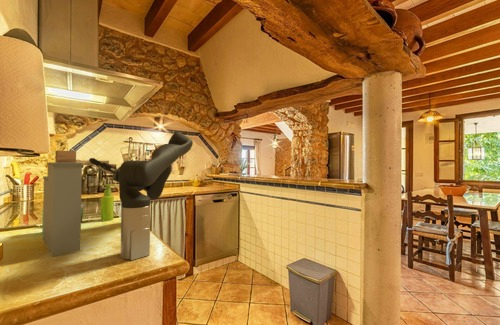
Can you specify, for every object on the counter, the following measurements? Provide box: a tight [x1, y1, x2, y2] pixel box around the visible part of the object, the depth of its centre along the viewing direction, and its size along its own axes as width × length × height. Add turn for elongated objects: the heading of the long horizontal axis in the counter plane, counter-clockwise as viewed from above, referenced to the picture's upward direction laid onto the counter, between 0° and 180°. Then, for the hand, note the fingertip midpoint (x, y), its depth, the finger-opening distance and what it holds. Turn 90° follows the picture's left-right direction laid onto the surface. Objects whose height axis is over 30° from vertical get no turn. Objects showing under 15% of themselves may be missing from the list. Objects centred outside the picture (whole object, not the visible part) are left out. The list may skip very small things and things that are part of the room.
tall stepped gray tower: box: [42, 162, 84, 258], centre depth 89 cm, size 26×8×32 cm, turn 47°
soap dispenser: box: [100, 183, 116, 222], centre depth 127 cm, size 6×7×20 cm
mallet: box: [54, 150, 110, 166], centre depth 102 cm, size 7×19×6 cm, turn 137°
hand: (90, 159), depth 104 cm, fingers closed on mallet, 2 cm apart
